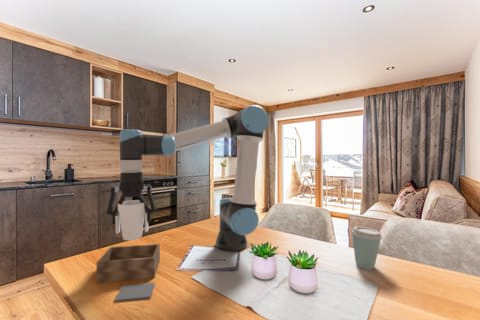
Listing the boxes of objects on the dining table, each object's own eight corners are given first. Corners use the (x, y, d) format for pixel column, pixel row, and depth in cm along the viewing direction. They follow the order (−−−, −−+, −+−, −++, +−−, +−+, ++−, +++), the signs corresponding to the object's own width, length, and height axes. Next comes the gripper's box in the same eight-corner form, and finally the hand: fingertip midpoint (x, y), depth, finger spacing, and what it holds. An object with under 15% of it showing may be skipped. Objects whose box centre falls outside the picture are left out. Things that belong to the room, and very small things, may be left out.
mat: (154, 284, 80) (154, 282, 80) (150, 298, 72) (150, 296, 72) (122, 287, 78) (122, 285, 78) (114, 302, 70) (114, 299, 70)
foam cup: (135, 242, 83) (134, 205, 83) (112, 241, 85) (111, 204, 84) (150, 233, 92) (150, 200, 92) (129, 232, 94) (129, 199, 94)
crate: (159, 260, 97) (159, 244, 97) (154, 277, 84) (154, 258, 84) (110, 264, 93) (110, 246, 93) (96, 282, 80) (96, 262, 80)
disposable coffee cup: (366, 259, 101) (367, 224, 101) (388, 271, 90) (389, 232, 90) (345, 261, 98) (345, 225, 98) (364, 274, 88) (365, 234, 88)
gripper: (163, 170, 94) (164, 226, 94) (102, 171, 89) (103, 230, 90) (161, 171, 86) (162, 232, 87) (94, 172, 82) (95, 237, 83)
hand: (132, 231), depth 88 cm, fingers closed on foam cup, 9 cm apart
